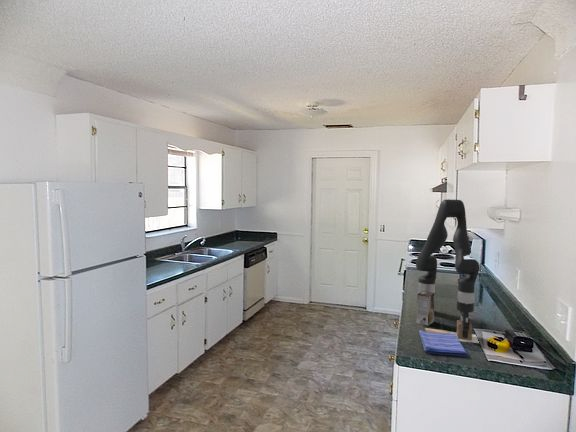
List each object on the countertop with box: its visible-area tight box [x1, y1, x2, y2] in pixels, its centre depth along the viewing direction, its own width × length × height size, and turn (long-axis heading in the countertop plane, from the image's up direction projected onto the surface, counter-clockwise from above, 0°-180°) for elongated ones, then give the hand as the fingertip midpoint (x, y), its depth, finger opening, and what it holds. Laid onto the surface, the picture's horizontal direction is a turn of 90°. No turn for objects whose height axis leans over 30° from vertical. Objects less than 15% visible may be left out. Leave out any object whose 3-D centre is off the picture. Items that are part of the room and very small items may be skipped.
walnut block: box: [456, 319, 473, 340], centre depth 186 cm, size 6×6×7 cm
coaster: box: [424, 327, 450, 334], centre depth 191 cm, size 10×11×1 cm
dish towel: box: [418, 329, 468, 357], centre depth 175 cm, size 17×24×3 cm
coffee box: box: [416, 291, 436, 327], centre depth 207 cm, size 9×6×16 cm
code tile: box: [449, 331, 480, 344], centre depth 186 cm, size 12×12×1 cm
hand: (464, 335), depth 186 cm, fingers open, 6 cm apart
